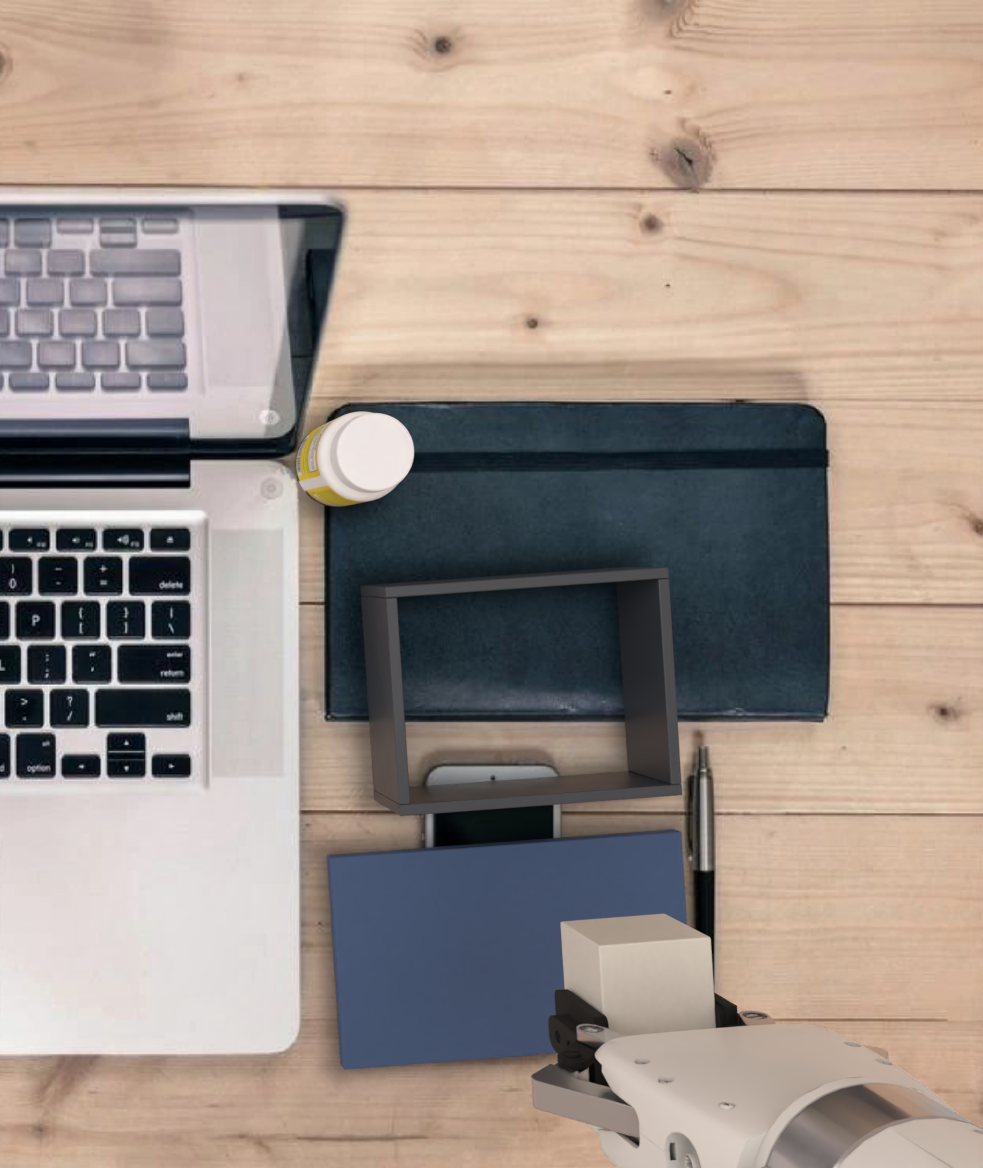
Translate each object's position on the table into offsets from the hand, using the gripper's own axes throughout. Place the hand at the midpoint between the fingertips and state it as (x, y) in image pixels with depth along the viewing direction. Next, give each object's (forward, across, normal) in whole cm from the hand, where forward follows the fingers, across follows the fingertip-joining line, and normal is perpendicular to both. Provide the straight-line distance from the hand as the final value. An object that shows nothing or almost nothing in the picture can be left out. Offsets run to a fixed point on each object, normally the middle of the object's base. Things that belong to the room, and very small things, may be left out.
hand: (625, 1017), depth 61 cm
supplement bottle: (+15, -8, +27) cm, 32 cm away
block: (+1, 0, 0) cm, 1 cm away
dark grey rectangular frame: (+15, 0, +14) cm, 20 cm away
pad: (+15, 0, -1) cm, 15 cm away
